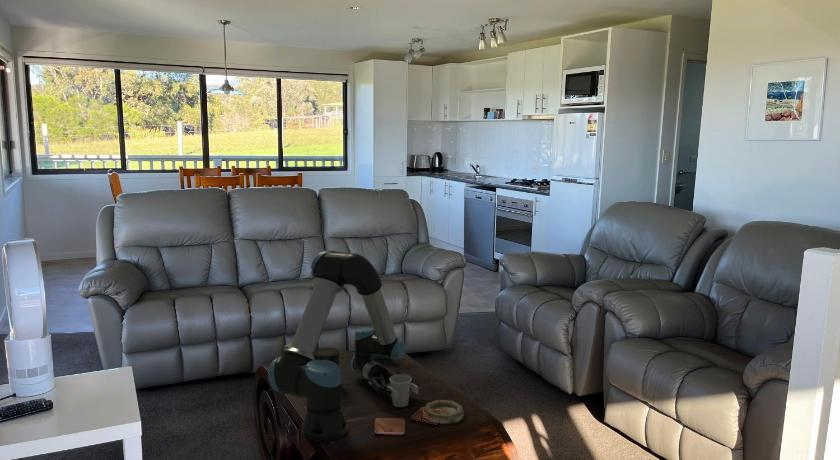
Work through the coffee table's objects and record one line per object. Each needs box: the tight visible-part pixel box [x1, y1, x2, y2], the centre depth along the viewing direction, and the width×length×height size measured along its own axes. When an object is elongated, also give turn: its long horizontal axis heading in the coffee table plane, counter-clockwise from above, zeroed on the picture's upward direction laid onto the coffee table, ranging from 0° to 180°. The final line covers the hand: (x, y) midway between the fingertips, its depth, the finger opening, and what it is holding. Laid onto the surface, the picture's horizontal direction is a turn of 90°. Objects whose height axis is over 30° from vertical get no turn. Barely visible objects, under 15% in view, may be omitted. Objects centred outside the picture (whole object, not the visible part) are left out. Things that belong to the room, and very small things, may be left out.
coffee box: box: [372, 328, 390, 360], centre depth 271 cm, size 8×3×13 cm, turn 88°
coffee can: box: [313, 347, 341, 368], centre depth 240 cm, size 10×10×14 cm
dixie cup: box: [389, 373, 413, 408], centre depth 223 cm, size 8×8×10 cm
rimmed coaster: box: [423, 399, 465, 425], centre depth 215 cm, size 15×15×2 cm
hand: (407, 392), depth 219 cm, fingers closed on dixie cup, 8 cm apart
